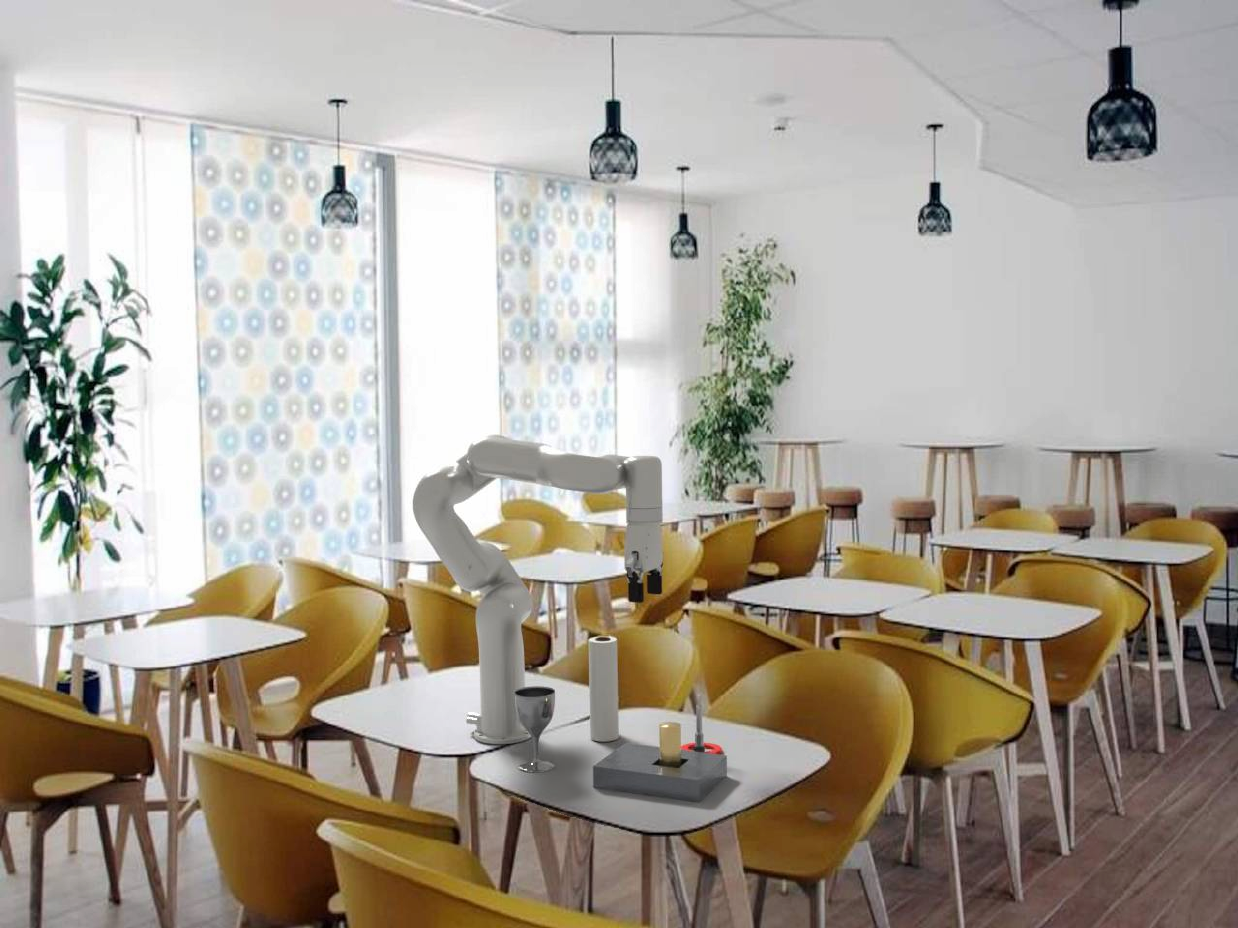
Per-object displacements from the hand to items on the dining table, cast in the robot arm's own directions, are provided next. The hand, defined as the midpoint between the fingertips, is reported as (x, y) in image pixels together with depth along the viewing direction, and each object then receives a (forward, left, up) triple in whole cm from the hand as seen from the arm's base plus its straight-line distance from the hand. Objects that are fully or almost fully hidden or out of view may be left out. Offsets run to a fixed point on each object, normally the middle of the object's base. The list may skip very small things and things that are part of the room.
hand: (645, 597), depth 245 cm
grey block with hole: (+12, -22, -30) cm, 39 cm away
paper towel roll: (-9, -1, -31) cm, 32 cm away
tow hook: (+13, -3, -31) cm, 33 cm away
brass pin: (+14, -22, -30) cm, 40 cm away
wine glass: (-14, -23, -31) cm, 41 cm away
